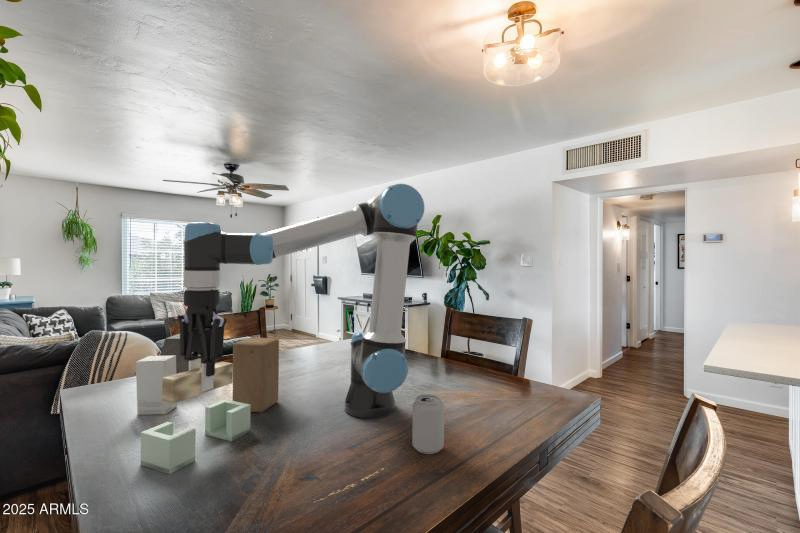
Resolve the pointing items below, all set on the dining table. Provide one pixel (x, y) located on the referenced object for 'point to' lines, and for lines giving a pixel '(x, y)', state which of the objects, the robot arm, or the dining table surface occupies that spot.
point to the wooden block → (256, 372)
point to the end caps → (192, 436)
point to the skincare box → (153, 384)
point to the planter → (178, 352)
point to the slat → (194, 382)
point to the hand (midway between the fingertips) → (200, 388)
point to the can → (428, 424)
